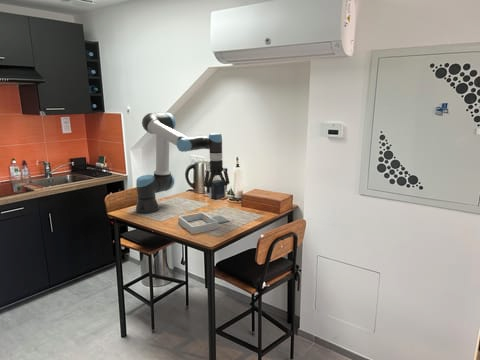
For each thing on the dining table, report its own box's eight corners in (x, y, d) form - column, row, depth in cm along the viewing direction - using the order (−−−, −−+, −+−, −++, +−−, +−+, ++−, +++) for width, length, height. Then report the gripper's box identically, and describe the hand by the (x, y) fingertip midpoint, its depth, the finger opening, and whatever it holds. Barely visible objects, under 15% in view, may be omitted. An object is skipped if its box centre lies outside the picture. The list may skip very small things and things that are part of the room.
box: (218, 196, 214) (218, 179, 212) (225, 197, 210) (224, 180, 208) (209, 198, 208) (208, 181, 206) (215, 200, 204) (215, 183, 202)
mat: (206, 219, 215) (206, 218, 215) (220, 216, 220) (220, 215, 220) (214, 224, 205) (214, 223, 205) (229, 221, 210) (229, 220, 210)
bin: (178, 222, 209) (178, 216, 208) (202, 218, 217) (202, 211, 216) (192, 234, 191) (192, 227, 190) (218, 228, 198) (218, 221, 198)
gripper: (201, 162, 196) (203, 200, 201) (235, 159, 206) (235, 195, 211) (196, 160, 202) (198, 197, 207) (229, 157, 213) (229, 192, 217)
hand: (217, 196), depth 209 cm, fingers closed on box, 9 cm apart
